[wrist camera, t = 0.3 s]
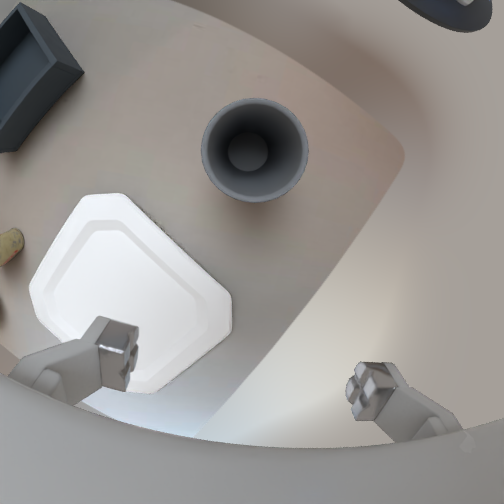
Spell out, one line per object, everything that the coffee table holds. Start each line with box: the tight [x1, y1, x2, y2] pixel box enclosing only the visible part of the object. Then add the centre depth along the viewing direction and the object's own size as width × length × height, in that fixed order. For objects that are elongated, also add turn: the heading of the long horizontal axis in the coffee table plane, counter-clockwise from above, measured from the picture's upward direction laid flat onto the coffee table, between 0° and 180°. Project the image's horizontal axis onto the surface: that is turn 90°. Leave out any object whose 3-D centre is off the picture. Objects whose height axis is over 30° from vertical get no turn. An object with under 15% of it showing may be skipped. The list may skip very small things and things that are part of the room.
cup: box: [201, 98, 309, 203], centre depth 25 cm, size 7×7×15 cm
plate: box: [29, 193, 232, 394], centre depth 37 cm, size 25×25×2 cm
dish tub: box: [0, 2, 84, 153], centre depth 24 cm, size 15×15×7 cm
